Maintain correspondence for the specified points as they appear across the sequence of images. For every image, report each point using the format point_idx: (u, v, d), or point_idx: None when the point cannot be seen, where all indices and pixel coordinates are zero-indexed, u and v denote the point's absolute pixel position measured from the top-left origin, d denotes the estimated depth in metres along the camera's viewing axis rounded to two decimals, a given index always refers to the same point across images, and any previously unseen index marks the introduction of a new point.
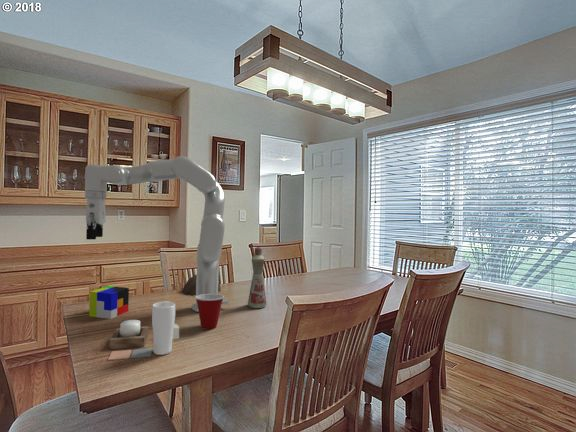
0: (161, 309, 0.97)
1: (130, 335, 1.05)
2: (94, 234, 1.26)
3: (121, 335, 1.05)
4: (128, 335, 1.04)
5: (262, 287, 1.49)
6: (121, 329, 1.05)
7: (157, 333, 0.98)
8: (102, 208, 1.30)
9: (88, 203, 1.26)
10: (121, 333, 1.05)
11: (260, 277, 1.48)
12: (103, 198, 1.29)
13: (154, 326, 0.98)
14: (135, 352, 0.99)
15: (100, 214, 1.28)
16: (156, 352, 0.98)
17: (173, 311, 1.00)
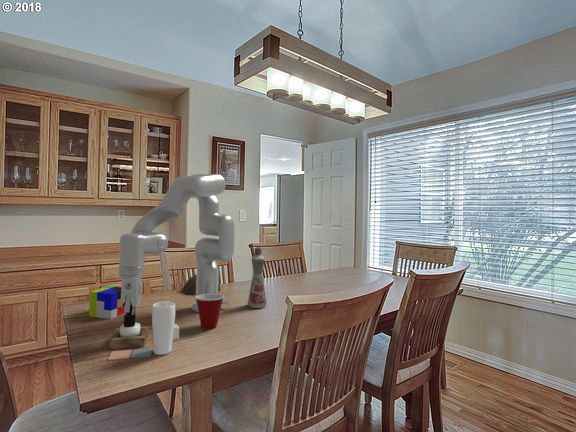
0: (161, 309, 0.97)
1: None
2: (133, 320, 1.06)
3: None
4: None
5: (262, 287, 1.49)
6: (121, 332, 1.05)
7: (157, 333, 0.98)
8: (139, 286, 1.06)
9: (124, 283, 1.02)
10: (121, 336, 1.05)
11: (260, 277, 1.48)
12: (141, 274, 1.06)
13: (154, 326, 0.98)
14: (135, 352, 0.99)
15: (137, 295, 1.04)
16: (156, 352, 0.98)
17: (173, 311, 1.00)
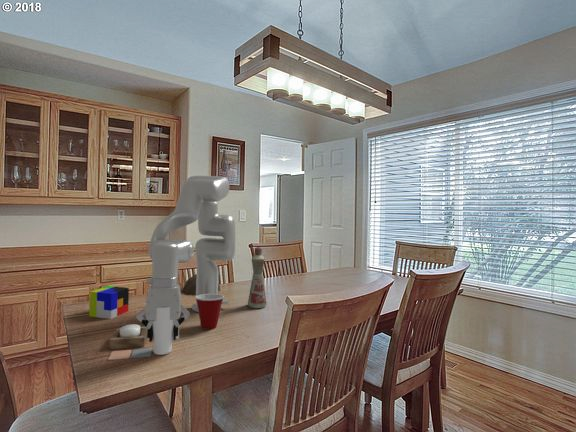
0: (161, 309, 0.97)
1: None
2: (149, 335, 0.98)
3: None
4: None
5: (262, 287, 1.49)
6: (121, 334, 1.05)
7: (157, 333, 0.98)
8: (159, 300, 0.97)
9: None
10: None
11: (260, 277, 1.48)
12: (157, 287, 0.97)
13: (154, 326, 0.98)
14: (135, 352, 0.99)
15: (151, 308, 0.97)
16: (156, 352, 0.98)
17: None
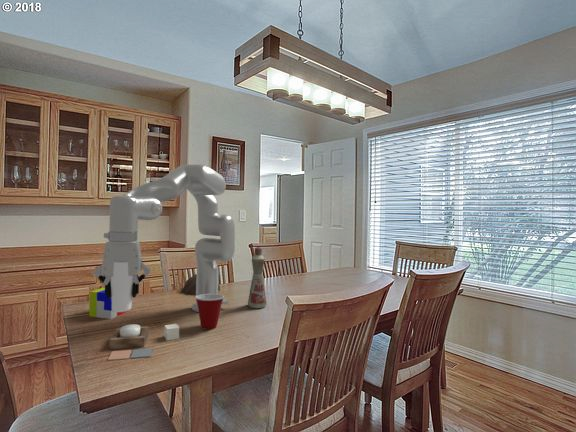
0: (119, 263, 0.93)
1: None
2: None
3: None
4: None
5: (262, 287, 1.49)
6: (121, 334, 1.05)
7: (114, 289, 0.94)
8: (116, 255, 0.94)
9: None
10: None
11: (260, 277, 1.48)
12: (114, 241, 0.93)
13: (111, 282, 0.94)
14: (135, 352, 0.99)
15: (107, 263, 0.93)
16: (114, 309, 0.95)
17: None
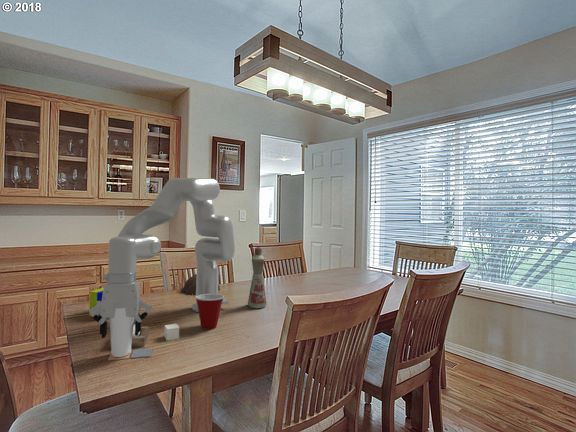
0: (118, 309, 0.94)
1: None
2: None
3: None
4: None
5: (262, 287, 1.49)
6: None
7: (114, 335, 0.95)
8: (115, 297, 0.94)
9: None
10: None
11: (260, 277, 1.48)
12: (112, 283, 0.93)
13: (111, 327, 0.95)
14: (135, 352, 0.99)
15: (106, 305, 0.93)
16: (113, 354, 0.95)
17: None
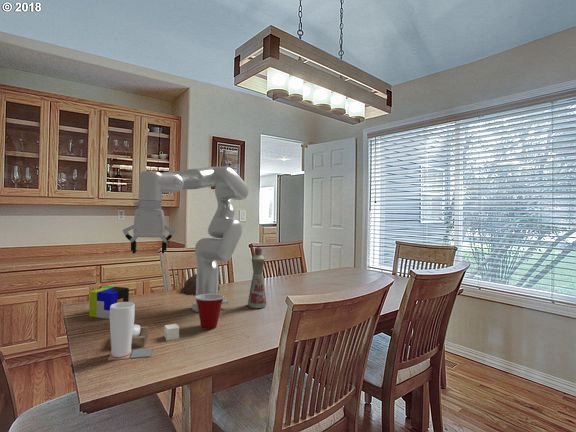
0: (118, 309, 0.94)
1: None
2: None
3: None
4: None
5: (262, 287, 1.49)
6: None
7: (114, 335, 0.95)
8: (145, 219, 1.13)
9: None
10: None
11: (260, 277, 1.48)
12: (143, 208, 1.12)
13: (111, 327, 0.95)
14: (135, 352, 0.99)
15: (138, 226, 1.12)
16: (113, 354, 0.95)
17: (132, 312, 0.97)
